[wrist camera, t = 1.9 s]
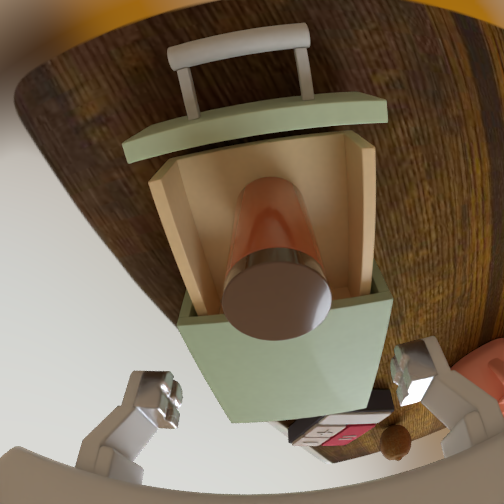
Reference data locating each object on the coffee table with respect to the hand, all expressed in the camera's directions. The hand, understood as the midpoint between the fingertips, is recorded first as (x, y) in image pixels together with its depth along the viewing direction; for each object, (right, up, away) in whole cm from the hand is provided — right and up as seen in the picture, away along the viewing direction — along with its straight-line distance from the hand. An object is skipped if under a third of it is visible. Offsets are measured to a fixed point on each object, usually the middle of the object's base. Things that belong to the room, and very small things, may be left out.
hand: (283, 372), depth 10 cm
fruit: (+26, -29, +37) cm, 54 cm away
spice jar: (0, +7, +10) cm, 12 cm away
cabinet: (+3, -3, +19) cm, 19 cm away
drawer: (0, +9, +10) cm, 13 cm away
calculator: (+12, -20, +31) cm, 39 cm away
